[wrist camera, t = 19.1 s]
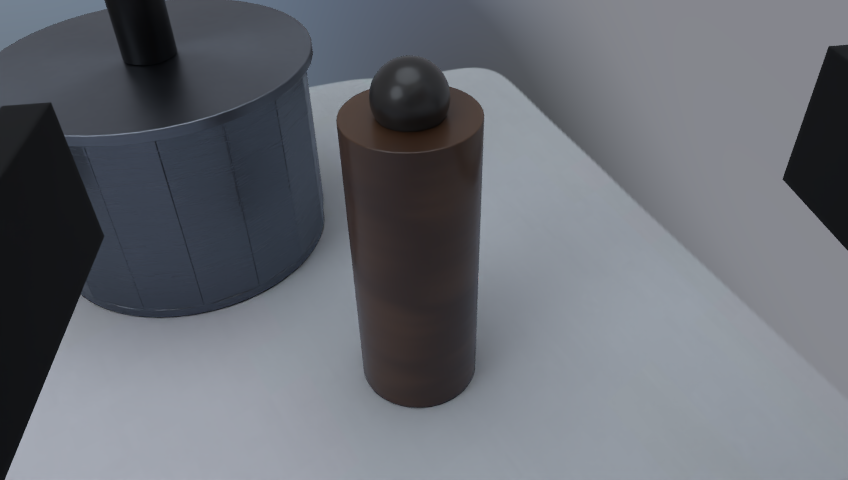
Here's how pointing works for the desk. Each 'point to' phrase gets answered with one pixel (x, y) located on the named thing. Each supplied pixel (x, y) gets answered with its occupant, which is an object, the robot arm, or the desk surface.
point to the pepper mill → (414, 229)
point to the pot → (205, 211)
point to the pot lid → (156, 68)
